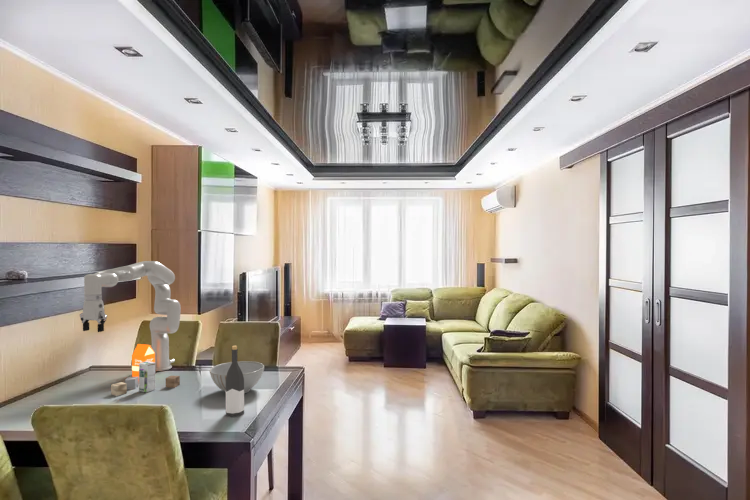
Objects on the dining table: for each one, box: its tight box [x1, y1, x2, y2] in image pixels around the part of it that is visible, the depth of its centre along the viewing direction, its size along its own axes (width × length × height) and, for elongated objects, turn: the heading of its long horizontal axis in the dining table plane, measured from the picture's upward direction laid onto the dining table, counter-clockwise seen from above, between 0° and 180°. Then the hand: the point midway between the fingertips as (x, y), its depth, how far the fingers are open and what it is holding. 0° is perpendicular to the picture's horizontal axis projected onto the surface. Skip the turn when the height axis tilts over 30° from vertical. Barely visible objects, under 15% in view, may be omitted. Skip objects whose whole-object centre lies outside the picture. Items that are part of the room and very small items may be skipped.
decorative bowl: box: [209, 360, 265, 395], centre depth 229 cm, size 27×27×12 cm
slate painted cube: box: [124, 376, 139, 390], centre depth 236 cm, size 5×5×5 cm
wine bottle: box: [225, 345, 245, 418], centre depth 198 cm, size 8×8×30 cm
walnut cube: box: [165, 375, 181, 389], centre depth 238 cm, size 5×5×5 cm
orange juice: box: [131, 343, 155, 377], centre depth 249 cm, size 8×9×20 cm
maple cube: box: [110, 381, 128, 397], centre depth 226 cm, size 5×5×5 cm
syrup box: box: [138, 361, 156, 393], centre depth 231 cm, size 6×6×14 cm
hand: (93, 331), depth 231 cm, fingers open, 9 cm apart
